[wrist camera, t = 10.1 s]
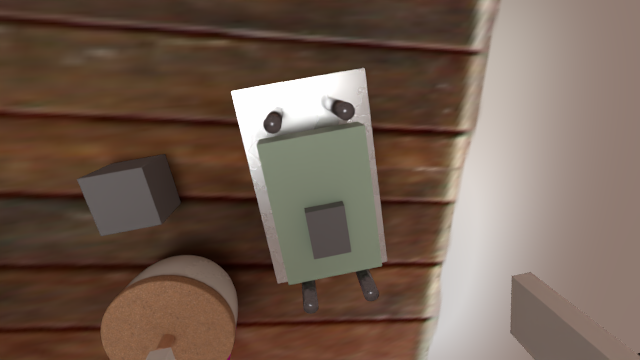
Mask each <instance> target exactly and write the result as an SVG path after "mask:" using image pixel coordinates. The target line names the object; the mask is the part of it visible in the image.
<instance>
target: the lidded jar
mask: <svg viewBox="0 0 640 360" xmlns="http://www.w3.org/2000/svg"><path fill="white" fill-rule="evenodd" d="M237 317H238V300H237V294H236V290H235V287H234V285H233V282H232V280H231V279H230V277H229V275H228V274H227V273H226V272H225V271H224V269H222V268H221V267H220V266H219V265H218V264H216V263H215V262H213V261H211V260H209V259H207V258H204V257H200V256H195V255H178V256H172V257H169V258H166V259H163V260H160V261H158V262H156V263H154V264H153V265H151V266H150V267H148V268H147V269H145V270H144V271H142V272H141V273H140V274H139V275H138V276H136V277H135V278H134V279H133V280H132V281H131V282H130V283H129V284H128V285H127V286H126V288H125V289H124V290H123V291H122V292H121V293H120V294H118V295H117V296H116V297H115V299H114V300H113V301H112V303H111V304H110V305H109V307H108V308H107V310H106V312H105V314H104V316H103V319H102V323H101V339H102V344H103V347H104V349H105V352H106V354H107V355H108V357H109V358H110V360H146V358H147V356H148V354H149V352H150V351H155V350H160V349H165V348H169V347H171V349H172V352H173V354H174V357H175V359H176V360H227V359H228V357H229V355H230V354H231V351H232V348H233V346H234V341H235V335H236V324H237Z"/></svg>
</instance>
